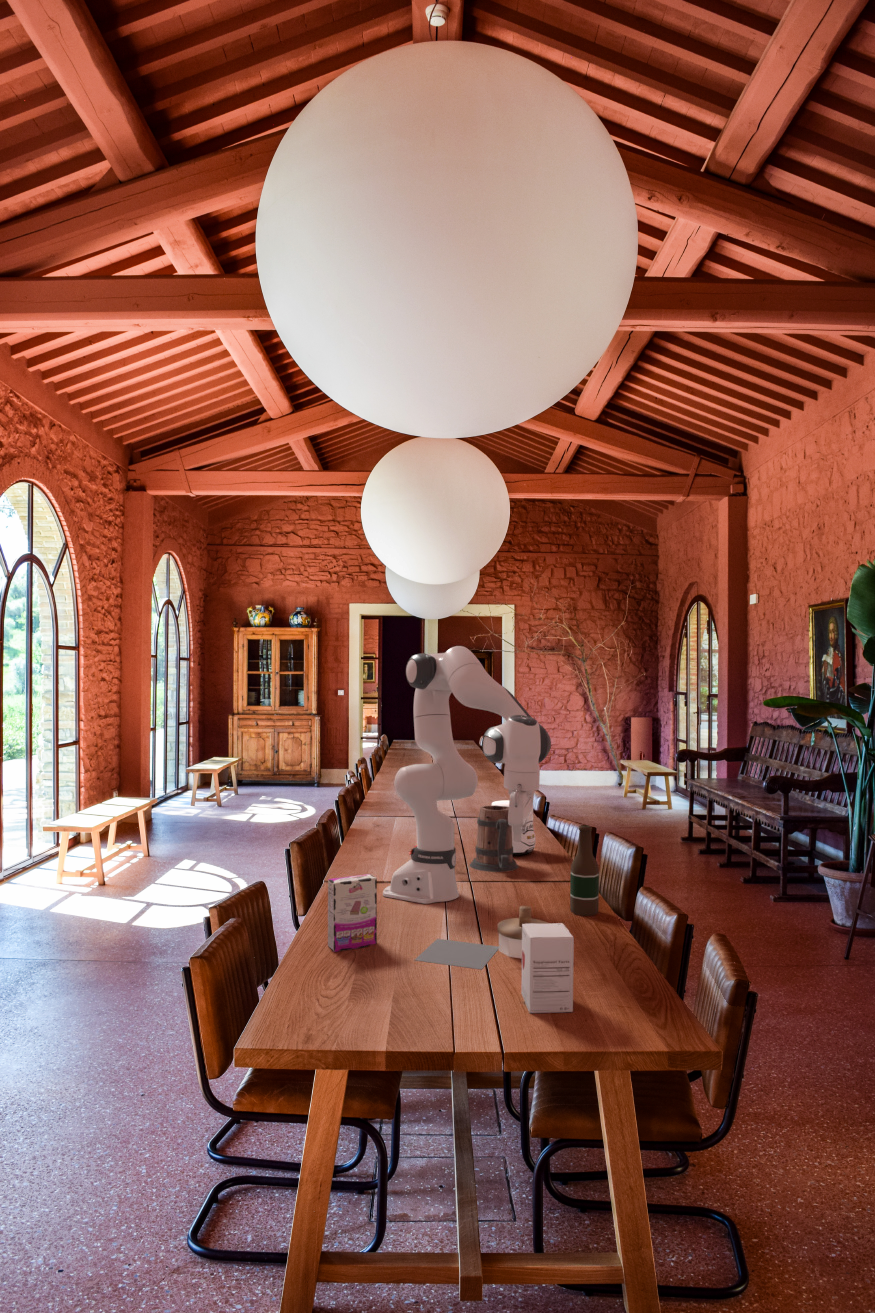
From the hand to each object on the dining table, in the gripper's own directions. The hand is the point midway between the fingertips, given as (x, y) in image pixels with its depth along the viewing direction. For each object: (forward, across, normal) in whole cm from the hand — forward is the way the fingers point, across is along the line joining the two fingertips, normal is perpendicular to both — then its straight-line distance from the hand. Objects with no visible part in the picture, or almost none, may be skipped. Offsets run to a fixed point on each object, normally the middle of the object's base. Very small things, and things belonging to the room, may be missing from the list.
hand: (519, 836), depth 205 cm
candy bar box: (+26, -16, +38) cm, 49 cm away
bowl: (+25, -10, -3) cm, 27 cm away
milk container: (+29, +96, +14) cm, 101 cm away
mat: (+25, -16, +12) cm, 32 cm away
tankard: (+29, +71, +16) cm, 78 cm away
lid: (+20, -9, -3) cm, 22 cm away
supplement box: (+24, -39, -11) cm, 47 cm away
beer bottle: (+26, +27, -16) cm, 41 cm away
